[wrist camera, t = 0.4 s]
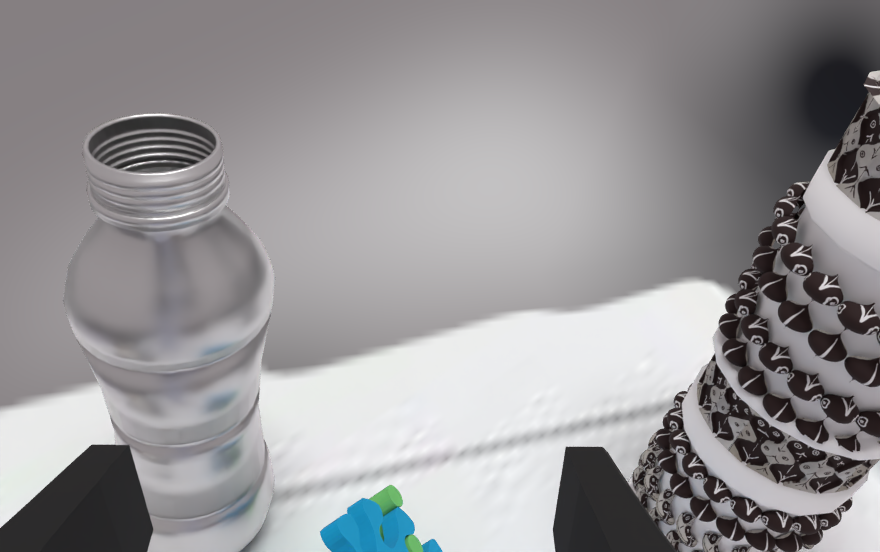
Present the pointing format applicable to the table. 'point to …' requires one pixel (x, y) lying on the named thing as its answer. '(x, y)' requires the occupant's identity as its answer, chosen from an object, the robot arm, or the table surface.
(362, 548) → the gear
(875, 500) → the table surface
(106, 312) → the plastic bottle
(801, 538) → the decorative candle
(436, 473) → the table surface
